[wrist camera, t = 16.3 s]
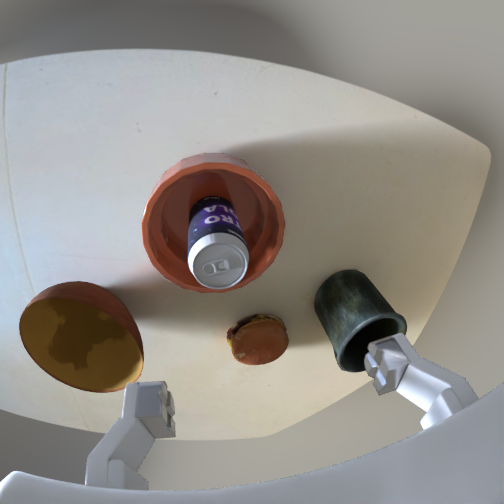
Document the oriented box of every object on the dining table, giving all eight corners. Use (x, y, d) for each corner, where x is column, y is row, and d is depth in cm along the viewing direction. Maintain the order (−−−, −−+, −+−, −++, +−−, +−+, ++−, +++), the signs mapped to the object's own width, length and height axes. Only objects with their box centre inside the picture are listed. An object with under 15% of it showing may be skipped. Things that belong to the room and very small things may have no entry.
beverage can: (240, 228, 38) (258, 283, 28) (197, 241, 38) (199, 300, 28) (228, 187, 36) (243, 229, 25) (182, 201, 35) (178, 248, 25)
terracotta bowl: (200, 126, 32) (200, 131, 27) (296, 202, 39) (311, 220, 33) (127, 226, 36) (116, 249, 31) (221, 284, 43) (225, 312, 38)
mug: (378, 265, 46) (419, 310, 36) (353, 332, 53) (380, 380, 43) (319, 265, 44) (354, 317, 34) (299, 337, 51) (321, 391, 41)
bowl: (129, 243, 37) (113, 288, 29) (163, 339, 46) (160, 389, 37) (27, 263, 35) (-3, 305, 27) (71, 348, 44) (58, 393, 36)
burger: (294, 333, 50) (302, 352, 46) (248, 358, 51) (252, 378, 47) (265, 297, 45) (272, 318, 41) (214, 327, 47) (217, 348, 42)
